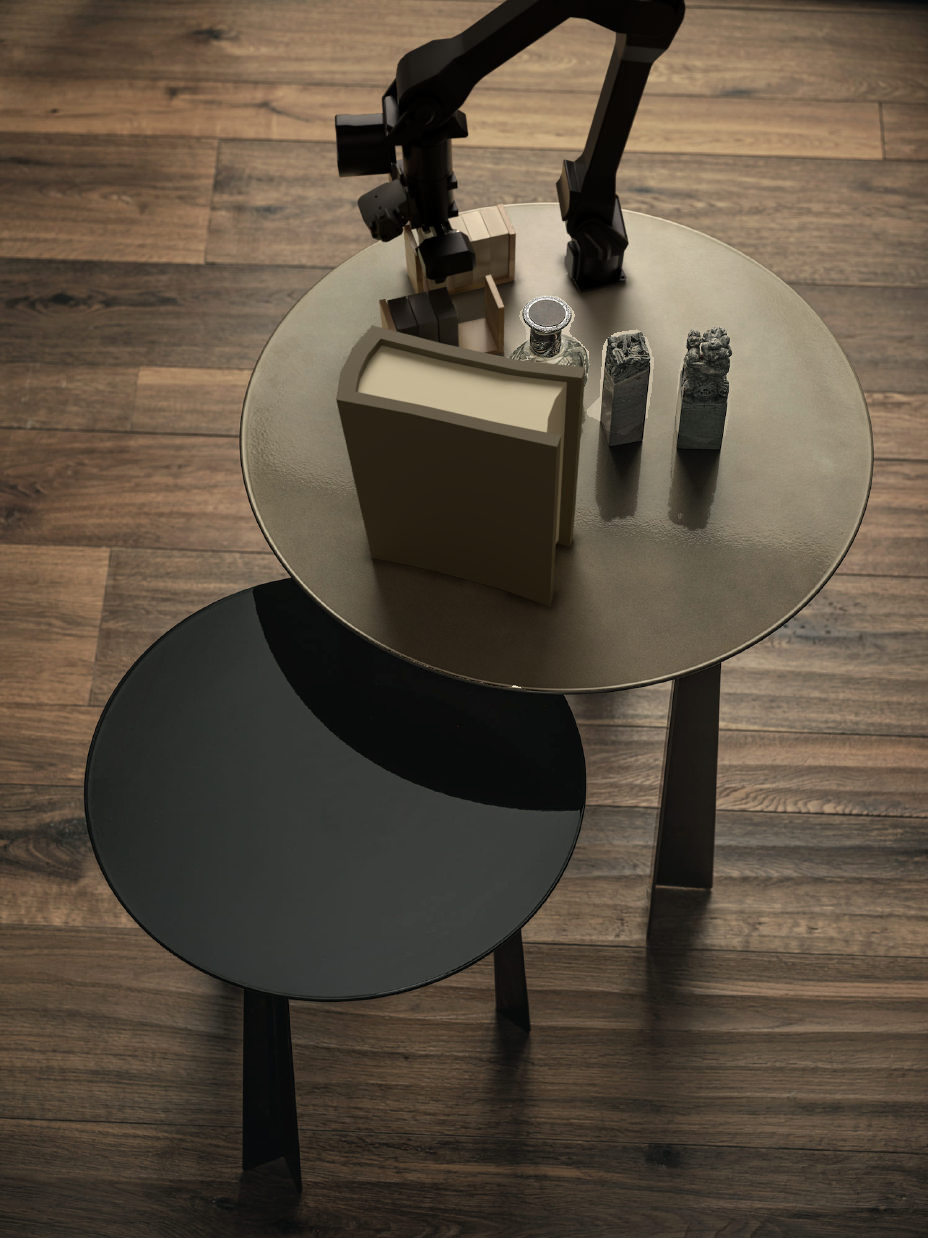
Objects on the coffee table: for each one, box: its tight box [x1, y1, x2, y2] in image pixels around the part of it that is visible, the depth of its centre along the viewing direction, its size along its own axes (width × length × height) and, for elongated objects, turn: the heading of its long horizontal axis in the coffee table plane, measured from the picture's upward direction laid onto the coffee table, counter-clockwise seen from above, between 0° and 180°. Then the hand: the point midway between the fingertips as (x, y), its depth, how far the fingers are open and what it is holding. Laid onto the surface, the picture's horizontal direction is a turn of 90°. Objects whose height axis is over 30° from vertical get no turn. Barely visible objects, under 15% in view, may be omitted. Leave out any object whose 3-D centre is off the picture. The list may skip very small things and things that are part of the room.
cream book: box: [417, 227, 448, 291], centre depth 138 cm, size 2×5×7 cm, turn 16°
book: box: [335, 324, 587, 607], centre depth 111 cm, size 22×9×28 cm, turn 72°
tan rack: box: [378, 275, 506, 355], centre depth 133 cm, size 14×6×8 cm, turn 106°
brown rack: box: [403, 203, 517, 296], centre depth 139 cm, size 13×6×8 cm, turn 106°
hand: (433, 268), depth 140 cm, fingers closed on cream book, 5 cm apart
